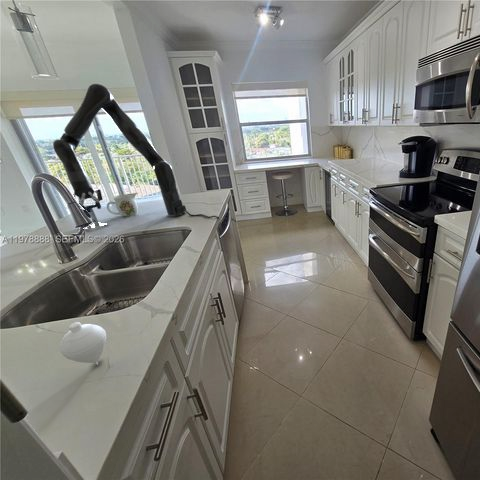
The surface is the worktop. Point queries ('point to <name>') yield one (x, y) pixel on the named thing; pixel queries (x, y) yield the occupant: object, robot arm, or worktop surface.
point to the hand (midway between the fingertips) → (92, 210)
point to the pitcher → (125, 205)
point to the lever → (90, 207)
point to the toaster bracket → (94, 221)
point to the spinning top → (83, 343)
